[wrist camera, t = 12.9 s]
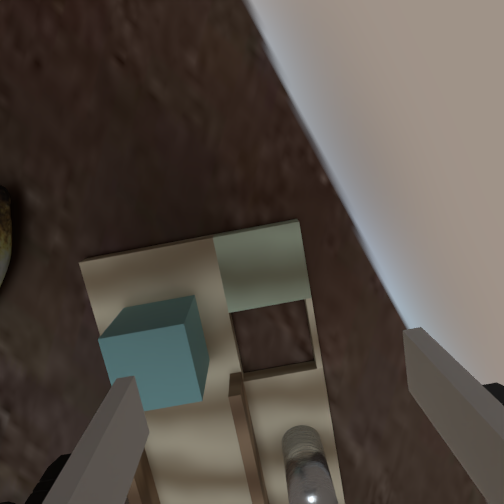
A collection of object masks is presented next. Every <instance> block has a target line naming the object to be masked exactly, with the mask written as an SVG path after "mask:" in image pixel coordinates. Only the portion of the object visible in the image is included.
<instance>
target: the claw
mask: <svg viewBox="0 0 504 504" xmlns="http://www.w3.org/2000/svg"><path fill="white" fill-rule="evenodd" d="M10 205H11V199H10V194H9V192H8V191H7V189H6V188H5V187H3V186H1V185H0V287H1V284H2V282H3V279H4V277H5V274H6V272H7V269H8V265H9V262H10V258H11V250H12V222H11V213H10Z"/></svg>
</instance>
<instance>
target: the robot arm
mask: <svg viewBox="0 0 504 504" xmlns="http://www.w3.org/2000/svg"><path fill="white" fill-rule="evenodd" d="M403 340H404V350H405V360H406V370H407V380H408V390H409V391H410V393H411V394H412V396H413V397H414V398H415V400H416V401H417V403H418V404H419V406H420V407H421V408H422V410H423V411H424V413H425V414H426V415H427V417H428V418H429V420H430V421H431V422H432V424H433V425H434V427H435V428H436V430H437V431H438V432H439V434H440V435H441V437H442V438H443V439H444V441H445V442H446V444H447V445H448V446H449V448H450V449H451V451H452V452H453V453H454V455H455V456H456V458H457V459H458V461H459V462H460V463H461V465H462V466H463V468H464V469H465V470H466V472H467V473H468V475H469V476H470V477H471V479H472V480H473V482H474V483H475V485H476V486H477V487H478V489H479V490H480V492H481V493H482V494H483V496H484V497H485V499H486V500H487V501H488V503H489V504H504V386H503V385H501V384H498V383H492V384H486V385H481V384H480V383H479V382H478V381H477V380H476V379H475V378H474V377H473V376H472V375H471V374H470V373H469V372H468V371H467V370H465V368H463V367H462V366H461V365H460V364H459V363H458V362H457V361H456V360H455V359H454V358H453V357H452V356H451V355H450V354H449V353H448V352H447V351H446V350H444V349H443V348H442V347H441V346H440V345H439V344H438V343H437V342H436V341H435V340H434V339H433V338H432V337H431V336H430V335H429V334H428V333H427V332H426V331H425V330H423V329H422V328H421V327H420V328H414V329H408V330H403ZM149 433H150V432H149V428H148V425H147V421H146V417H145V413H144V410H143V406H142V402H141V398H140V395H139V391H138V387H137V383H136V380H135V376H128V377H123V378H117V379H116V380H115V382H114V384H113V385H112V387H111V389H110V390H109V392H108V394H107V395H106V397H105V399H104V400H103V402H102V404H101V405H100V407H99V409H98V410H97V412H96V414H95V415H94V417H93V419H92V420H91V422H90V424H89V425H88V427H87V429H86V431H85V432H84V434H83V436H82V437H81V439H80V441H79V442H78V444H77V446H76V447H75V449H74V451H73V452H72V454H65V455H61V456H60V457H59V458H58V459H57V460H55V461H54V462H53V463H52V464H51V465H50V466H49V467H48V468H47V470H46V471H45V473H44V474H43V476H42V477H41V479H40V482H39V483H38V484H37V485H36V487H35V488H34V490H33V493H32V494H30V496H29V498H28V499H27V501H26V502H25V504H124V503H125V500H126V497H127V495H128V492H129V489H130V486H131V483H132V481H133V478H134V475H135V472H136V469H137V467H138V464H139V461H140V458H141V455H142V452H143V450H144V447H145V444H146V441H147V438H148V436H149ZM0 504H15V503H12V502H3V503H0Z"/></svg>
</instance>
